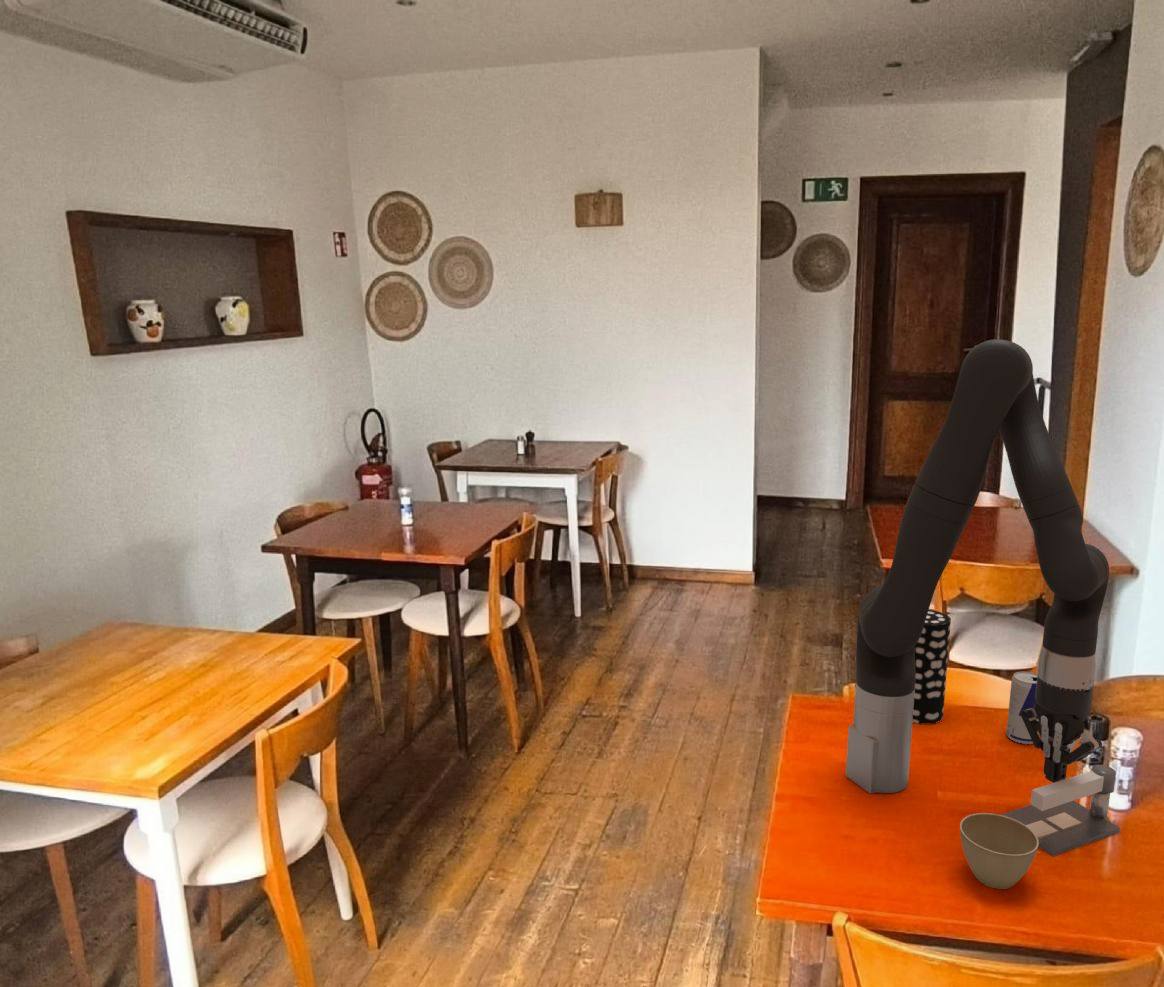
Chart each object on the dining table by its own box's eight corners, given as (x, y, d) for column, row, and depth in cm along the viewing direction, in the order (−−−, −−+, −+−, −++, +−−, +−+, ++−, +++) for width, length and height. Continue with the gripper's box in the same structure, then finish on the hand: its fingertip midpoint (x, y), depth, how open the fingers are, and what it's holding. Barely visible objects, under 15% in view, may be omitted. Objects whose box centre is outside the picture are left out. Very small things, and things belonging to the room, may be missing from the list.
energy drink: (1042, 746, 162) (1048, 684, 159) (1010, 743, 163) (1016, 682, 160) (1033, 732, 167) (1040, 672, 164) (1002, 729, 168) (1008, 670, 165)
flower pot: (1029, 910, 120) (1034, 863, 119) (949, 885, 126) (953, 840, 124) (1037, 869, 129) (1042, 825, 127) (962, 848, 134) (966, 804, 132)
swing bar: (1099, 780, 141) (1101, 762, 141) (1118, 790, 138) (1120, 772, 138) (1026, 803, 135) (1028, 785, 135) (1045, 815, 133) (1047, 796, 132)
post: (1099, 823, 139) (1103, 795, 138) (1085, 815, 141) (1089, 787, 140) (1110, 819, 140) (1113, 791, 139) (1096, 811, 142) (1099, 784, 141)
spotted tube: (937, 728, 169) (945, 628, 164) (892, 717, 173) (898, 619, 169) (947, 710, 176) (955, 614, 171) (903, 700, 180) (909, 606, 176)
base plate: (1053, 856, 131) (1053, 849, 131) (997, 819, 140) (998, 813, 140) (1119, 832, 137) (1120, 825, 136) (1062, 798, 146) (1062, 792, 145)
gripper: (1010, 664, 140) (1001, 765, 144) (1087, 699, 128) (1075, 808, 132) (1045, 655, 142) (1035, 755, 146) (1124, 688, 131) (1110, 796, 135)
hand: (1054, 780), depth 139 cm, fingers closed
